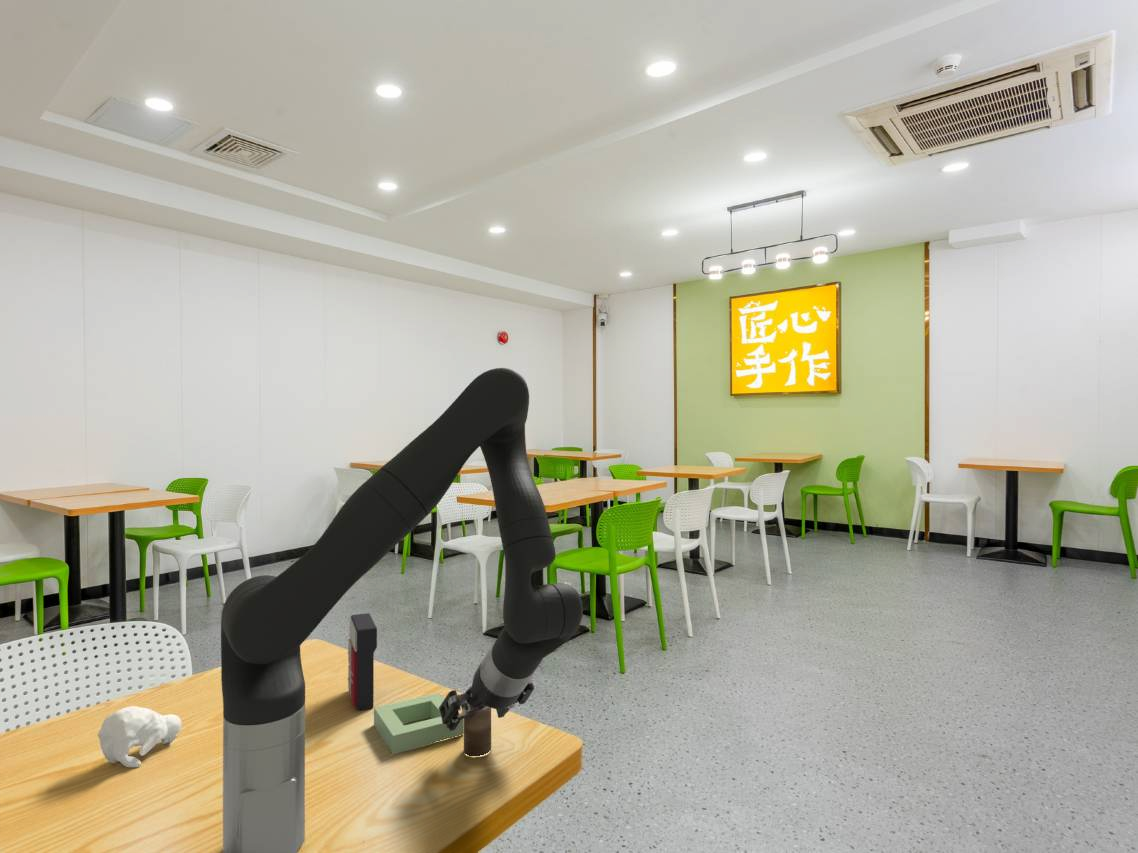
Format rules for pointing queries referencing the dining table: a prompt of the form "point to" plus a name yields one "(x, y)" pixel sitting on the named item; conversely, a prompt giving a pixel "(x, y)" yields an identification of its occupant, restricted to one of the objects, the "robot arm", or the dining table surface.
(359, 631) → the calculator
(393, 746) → the socket block
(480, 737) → the walnut pin
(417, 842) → the dining table surface
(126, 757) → the white animal figurine
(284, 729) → the robot arm
